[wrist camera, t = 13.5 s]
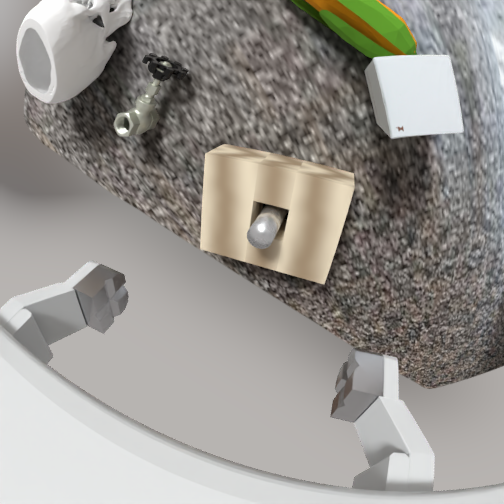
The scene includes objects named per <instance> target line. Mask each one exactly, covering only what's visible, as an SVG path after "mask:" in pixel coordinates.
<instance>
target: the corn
mask: <svg viewBox="0 0 504 504" xmlns="http://www.w3.org/2000/svg"><path fill="white" fill-rule="evenodd" d="M291 1H292V2H293V3H295V4H296V5H297V6H298V7H299V8H301V9H302V10H304V11H305V12H306V13H308V14H309V15H311V16H312V17H314V18H315V19H316V20H318V21H319V22H320V23H322V24H323V25H325V26H326V27H328V28H329V29H331V30H332V31H334V32H335V33H337V34H338V35H339V36H340V37H341V38H342V39H343V40H345V41H346V42H347V43H349V44H350V45H352V46H353V47H355V48H356V49H357V50H359V51H360V52H361V53H363V54H364V55H365V56H367V57H370V58H372V59H373V58H374V57H383V56H399V55H417V54H416V47H417V42H416V40H415V39H414V37H413V35H412V33H411V31H410V29H409V28H408V26H407V24H406V22H405V21H404V19H403V18H402V17H400V16H399V15H398V14H396V13H395V12H394V11H392V10H391V9H390V8H388V7H387V6H386V5H384V4H383V3H381V2H380V1H378V0H305V1H307V2H308V3H309V4H308V3H307V2H305V1H303V0H291Z"/></svg>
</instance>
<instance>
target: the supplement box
mask: <svg viewBox="0 0 504 504" xmlns="http://www.w3.org/2000/svg"><path fill="white" fill-rule="evenodd" d="M364 72H365V76H366V80H367V84H368V88H369V93H370V97H371V101H372V105H373V110H374V114H375V118H376V123H377V124H378V125H379V126H380V127H381V128H382V130H383V131H384V132H385V133H386V134H387V135H388V136H389V137H390V138H391V139H397V138H405V137H414V136H424V135H435V134H447V133H463V132H464V131H463V122H462V115H461V108H460V102H459V96H458V91H457V86H456V81H455V77H454V72H453V68H452V64H451V60H450V56H449V55H399V56H383V57H374V58H373V60H372V61H371V63H370V64H369V65H368V66H367V68H366V69H365V71H364Z"/></svg>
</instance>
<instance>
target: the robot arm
mask: <svg viewBox="0 0 504 504" xmlns="http://www.w3.org/2000/svg"><path fill="white" fill-rule="evenodd" d="M125 282H126V281H125V276H124V274H122V273H120V272H118V271H115V270H113V269H111V268H109V267H106V266H104V265H102V264H99V263H97V262H95V261H89V262H88V263H86V264H85V265H84V266H83V267H82V268H80V269H79V270H78V271H77V272H76V273H75V274H73V275H72V276H71V277H70V278H69V279H68V280H67V281H65V282H64V283H61V282H60V283H57V284H53V285H50V286H47V287H44V288H41V289H37V290H35V291H31V292H28V293H25V294H21V295H19V296H15V297H12V298H11V299H10V300H9V301H8V302H7V303H6V304H5V305H4V306H3V307H2V308H1V309H0V504H504V483H501V484H496V485H490V486H484V487H477V488H468V489H459V490H447V491H433V483H434V460H435V457H434V456H435V455H434V452H433V451H432V449H431V447H430V445H429V444H428V442H427V440H426V439H425V437H424V435H423V433H422V432H421V430H420V428H419V427H418V425H417V423H416V422H415V420H414V418H413V417H412V415H411V413H410V412H409V410H408V408H407V407H406V405H405V403H404V402H403V401H402V400H399V380H398V379H399V377H398V360H397V358H396V357H392V356H387V355H382V354H379V353H374V352H370V351H365V350H361V349H357V348H353V349H352V350H351V352H350V354H349V357H348V362H345V363H344V364H343V365H342V367H341V369H340V372H339V374H338V377H337V381H336V387H335V390H336V392H337V393H338V394H337V395H336V397H335V398H334V400H333V404H332V410H331V417H332V418H336V419H341V420H345V421H349V422H354V426H355V429H356V431H357V434H358V436H359V439H360V442H361V444H362V447H363V450H364V452H365V455H366V458H367V460H368V463H369V466H370V468H369V469H367V470H365V471H364V472H362V473H360V474H358V475H357V476H355V477H354V481H353V486H352V488H347V487H339V486H333V485H326V484H320V483H315V482H309V481H303V480H299V479H295V478H290V477H286V476H281V475H277V474H273V473H269V472H266V471H262V470H258V469H255V468H252V467H248V466H245V465H242V464H238V463H235V462H232V461H229V460H226V459H223V458H221V457H218V456H215V455H212V454H210V453H207V452H204V451H202V450H199V449H197V448H194V447H191V446H189V445H187V444H184V443H182V442H180V441H177V440H175V439H173V438H170V437H168V436H166V435H164V434H162V433H160V432H158V431H155V430H153V429H151V428H149V427H147V426H145V425H143V424H141V423H139V422H137V421H135V420H134V419H131V418H130V417H128V416H126V415H124V414H123V413H121V412H119V411H117V410H115V409H114V408H112V407H110V406H108V405H106V404H105V403H103V402H102V401H100V400H99V399H97V398H95V397H94V396H92V395H90V394H89V393H87V392H86V391H84V390H83V389H81V388H79V387H78V386H77V385H75V384H74V383H72V382H71V381H69V380H68V379H66V378H65V377H63V376H62V375H61V374H59V373H58V372H57V371H55V370H54V369H53V368H51V367H50V366H49V365H47V364H48V362H49V361H50V360H51V359H52V358H53V354H52V352H51V350H50V348H49V346H48V345H50V344H52V343H54V342H56V341H58V340H60V339H62V338H64V337H67V336H68V335H71V334H73V333H75V332H77V331H79V330H81V329H83V328H85V327H87V325H88V326H89V327H91V328H93V329H95V330H97V331H99V332H101V333H105V332H106V330H107V329H108V328H109V327H110V326H111V325H112V324H113V322H114V317H115V316H117V315H120V314H121V313H122V312H123V311H124V310H125V308H126V305H127V303H128V292H127V290H126V288H125V287H124V284H125Z"/></svg>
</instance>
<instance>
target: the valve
mask: <svg viewBox="0 0 504 504" xmlns="http://www.w3.org/2000/svg"><path fill="white" fill-rule="evenodd" d="M168 59H169V58H168V57H166V56H161V57H157V55H155V54H153V53H150V54H149V55H145V57H144V59H143V61H142V62H143V63H145V64H147V62H148V61H150V63H149V65H148V69H149V71H150V72H151V73H153V75H152V76H153V77H154V78H155V79H154V81H153V82H149V83H148V85H147V87H146V89H145V90H146V92H147V93H146V94H143V95H141V96H138V98H137V100H136V102H135V104H136V107H135V108H132V109H130V110H129V111H128V112H122V113H118V115H117V117H116V119H115V121H114V128H115V130H116V132H117V134H118V135H119V136H131V135H139V134H142V133H144V132H145V131H147V130H150V129H153V128H155V126H156V124H157V122H158V120H159V118H160V117H159V115H158V113H157V111H156V109H155V106H156V101H155V98H154V95H157V94H158V92H159V90H160V89H161V86H160V85H159V84H160V82H161V81H165V80H168V79H169V78H170V76H171V75H172V74H177V77H176V78H178V79H183V77H184V76H186V74H187V72H188V70H187V69H186V68H183V67H182V68H181V67H180V66H181V64H180V63H179V62H172V61H170V60H168ZM159 62H160V63H159Z"/></svg>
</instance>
